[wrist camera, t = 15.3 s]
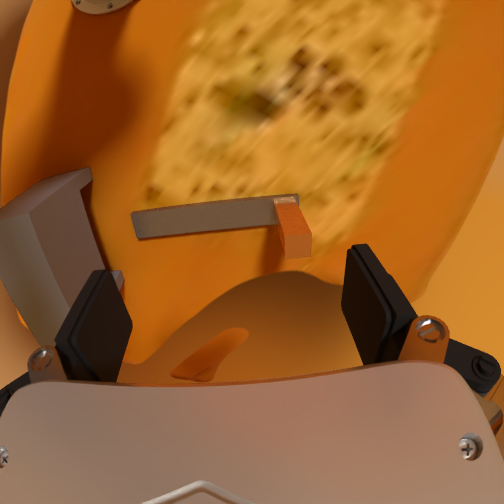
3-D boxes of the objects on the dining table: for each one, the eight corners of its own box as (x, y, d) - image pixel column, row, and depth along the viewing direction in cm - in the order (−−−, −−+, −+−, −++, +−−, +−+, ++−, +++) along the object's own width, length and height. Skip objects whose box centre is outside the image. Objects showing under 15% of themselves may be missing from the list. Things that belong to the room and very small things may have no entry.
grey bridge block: (40, 180, 37) (-23, 226, 24) (89, 166, 37) (28, 212, 24) (78, 283, 48) (42, 347, 34) (124, 280, 48) (94, 350, 34)
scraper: (297, 193, 42) (316, 228, 32) (297, 218, 44) (315, 259, 34) (132, 211, 42) (106, 250, 32) (139, 234, 44) (116, 277, 34)
